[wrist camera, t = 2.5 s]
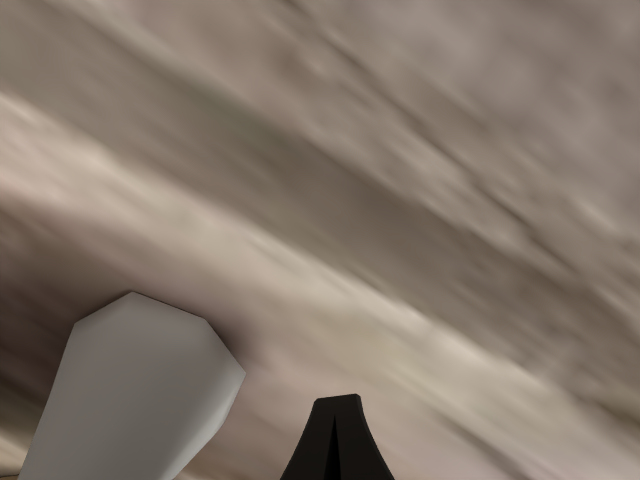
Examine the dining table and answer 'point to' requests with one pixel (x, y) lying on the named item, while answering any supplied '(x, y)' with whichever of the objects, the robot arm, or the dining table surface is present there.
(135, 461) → the flask
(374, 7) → the dining table surface
